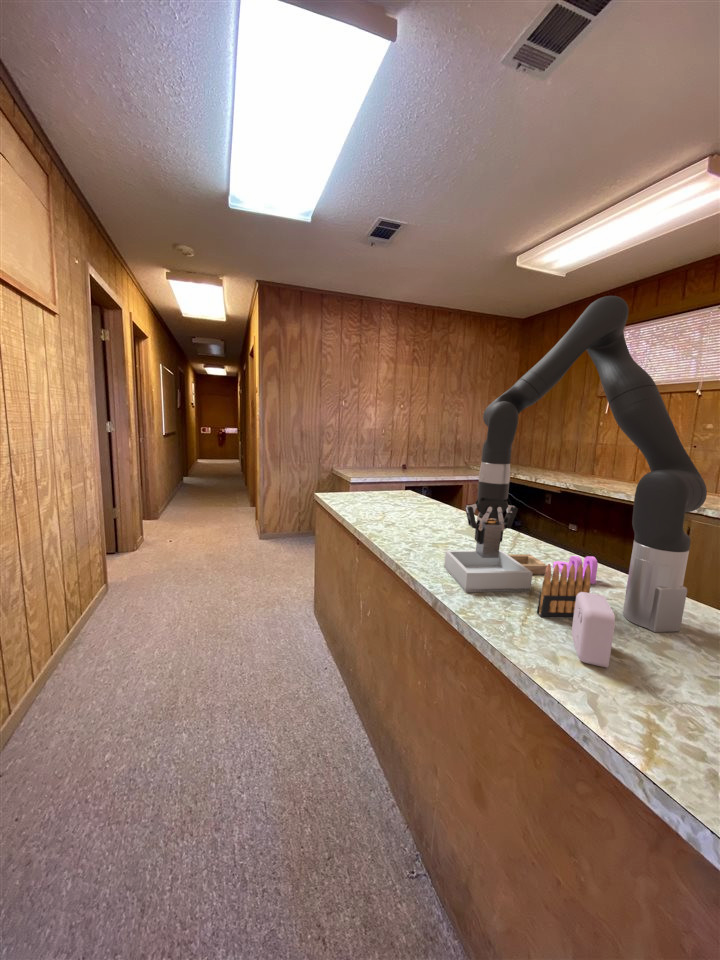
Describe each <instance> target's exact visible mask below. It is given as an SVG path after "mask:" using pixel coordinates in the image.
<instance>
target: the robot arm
mask: <svg viewBox="0 0 720 960" xmlns="http://www.w3.org/2000/svg"><path fill="white" fill-rule="evenodd" d="M628 317H629V305H628V303H627V302H626V301H625V299H624V298H622V297H621V296H616V295H608V296H607V295H606V296H603V297H599V298H597V299H596V300H594V301H593V302H591V303H589V305H588V306H587V307H586V308H585V309H584V311H583V312H582V313H581V314H580V316H579V317H578V318H577V319H576V321H575V322H574V323H573V324H572V326H571V327H570V328H569V329H568V331H566V333H564V335H563V336H562V337H560V339H559V340H558V342H556V344H555V345H554V346H553V347H552V348H551V349H550V350H549V351H547V353H546V354H545V355H544V356H543V357H542V358H541V359H540V360H539V361H537V363H536V364H535V365H533V367H531V368H530V369H529V370H528V371H526V372H525V374H523V375H521V377H520V378H519V379H518V380H517V381H516V382H515V383H514V384H513V385H512V386H511V387H510V388H509V389H508V390H506V391H504V393H502V394H501V395H500V396H498V397H497V398H496V399H494V400H493V401H492V402H491V403H490V404H489V405H488V406H487V407H486V408H485V409H484V411H483V416H482V418H483V424H485V426H486V427H487V433H486V439H485V440H484V441H483V446H482V453H481V463H480V468H479V474H478V485H477V499H476V501H475V503H474V504H466V505H465V506H464V509H465V514H466V519H467V524H468V526H469V527H471V528H472V529H475V532H474V540H475V542H476V543H478V544H482V538H483V531H482V530H483V527H484V524H485V523H486V522H487V520H488V519H490V518H493V519H496V520H497V522H498V524H501V525H502V528H501V538H500V543H502V542H503V537H504V536H503V535H504V530H507V529H509V530H510V529H511V528H512V526H513V523H514V521H515V518H516V515H517V513H518V511H519V508H518V507H516V506H515V505H510V504H509V503H508V498H509V489H510V481H511V460H512V446H513V442H514V440H515V436H516V432H517V429H518V423H519V414H520V413H522V412H523V410H525V409H526V408H528V407H529V408H530V407H531V406H533V405H535V404H536V403H537V402H538V401H539V400H541V399H542V398H543V397H544V396H545V395H547V394H548V392H550V390H552V389H553V388H554V387H555V386H556V385H557V384H558V383H559V382H560V381H561V379H562V378H563V377H564V376H565V374H567V372H568V371H569V369H570V368H571V367H572V366H573V365H574V363H575V362H576V361H577V360H578V358H580V356H581V355H582V354H583V353H584V352H585V351H586V352H587V354H588V355H589V358H590V359H591V361H592V362H593V364H594V366H595V368H596V371H597V373H598V375H599V380H600V382H601V386H602V388H603V389H602V390H603V391H604V394H605V397H606V400H607V403H608V405H609V407H610V411H611V412H612V416H613V418H614V419H615V423H616V424H617V426H618V427H619V428H620V429H621V431H622V432H623V433H624V434H625V435H626V437H627V438H628V439H629V441H631V442H632V443H633V444H634V445H635V446H636V447H637V449H639V451H640V452H641V454H642V455H643V457H644V458H645V460H646V463H647V464H648V466H649V470H650V471H649V472H646V474H644V475H643V476H642V477H641V478H640V479H639V481H638V483H637V484H636V485H637V486H636V488H635V493H634V499H633V508H632V510H633V511H632V517H631V518H632V519H631V520H632V521H631V522H632V523H631V524H632V529H633V533H634V536H633V537H634V539H633V544H632V552H631V557H630V562H629V569H628V577H627V583H626V590H625V595H624V603H623V609H622V615H623V617H624V618H626V620H628V621H629V622H631V623H633V624H635V625H637V626H640V627H642V628H645V629H648V630H650V631H651V632H654V633H663V632H664V633H665V632H680V631H681V626H682V622H683V615H684V610H685V605H686V599H687V594H688V588H687V587H686V586H684V581H685V577H686V576H685V575H686V572H687V571H686V569H687V564H688V559H689V553H690V548H691V543H692V542H691V540H692V539H691V537H690V536H689V534H687V533H686V532H685V531H684V530H685V529H684V523H685V513H691V512H693V511H696V510H698V509H700V508H701V507H702V506H703V505H704V503H705V502H706V499H707V493H708V491H707V490H708V489H707V485H706V482H705V480H704V478H703V476H702V475H701V474H700V472H699V470H698V469H697V467H696V466H695V464H694V462H693V461H692V459H691V457H690V455H689V453H687V451H686V448H685V447H684V445H683V443H682V442H681V439H680V438H679V435H678V432H677V430H676V427H675V426H674V422H673V421H672V418H671V416H670V414H669V412H668V410H667V407H666V405H665V402H664V400H663V397H662V395H661V393H660V391H659V388H658V387H657V384H656V382H655V380H654V378H652V376H651V375H650V374H649V373H648V372H647V371H646V370H645V369H643V367H641V366H640V365H639V364H638V363H637V362H636V361H635V360H634V359H633V357H632V355H631V353H630V351H629V348H628V345H627V343H626V339H625V332H624V330H625V327H626V325H627V321H628V319H629V318H628ZM476 509H477V511H478V514H477V516H476V517H475V513H476ZM505 512H506V514H505V516H504V515H503V514H504V513H505Z"/></svg>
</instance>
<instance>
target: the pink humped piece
mask: <svg viewBox="0 0 720 960" xmlns="http://www.w3.org/2000/svg"><path fill="white" fill-rule="evenodd" d="M598 563H599V562H598V560H597V558H596V557H595V556H589V555H587V556H585V557H584V560H583V561H582V557H580V556H578V555H571V556H570V557H569V559H568V562H567V561H561V560H560V561H559V560H556V561H553V563H552V568H553V569H554V568H555V566H556V564H558V566H559V574H561V571H562V568H563V566H564V564H566V566H567V579H568V576H569V571H570V568H571V566H572V564H574V567H575V579H576V575H577V570H578V568H579V566H580V564H581V565H582V567H583V578H584V573H585V570H586V567H587V566H588V565H590V569H591V577H590V584H592V585H593V584H596V582H597V581H596V580H597V574H598V573H597V572H598V567H599V566H598ZM582 581H583V580H582Z"/></svg>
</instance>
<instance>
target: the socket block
mask: <svg viewBox="0 0 720 960" xmlns="http://www.w3.org/2000/svg"><path fill="white" fill-rule="evenodd" d="M506 554H507V553H506ZM507 555H509V556H510V557H512V558H513V559H514V560H516V561H517V562H519V563H520V564H521V565H523V566H524V567H526V568H527V569H528V570H530V571H531V572H533V573H532V575H545V571H546V567H547V565H548V564H546V563H544V562H543V561H541V560H540V559H538V558H536V557H535V556H534V555H532V554H528V553H526V554H522V553H521V554H519V553H517V554H516V553H515V554H509V553H508V554H507Z"/></svg>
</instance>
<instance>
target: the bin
mask: <svg viewBox="0 0 720 960" xmlns="http://www.w3.org/2000/svg"><path fill="white" fill-rule="evenodd" d="M443 568H445V569H444V570H446V571H447V572H448V573H449V575H450V577H452V579H454V581H455V582H456V583H457V584H458V586H459V587H460V588H461V589H462V590H463V591H464V593H503V592H505V593H506V592H507V593H508V592H512V593H513V592H517V593H518V592H531V589H532V579H533V574H532V573H533V572H531V571H530V570H528V569H527V568H526V567H524V566H523V565H521V564H520V563H519V562H517V561H516V560H514V559H513V558H512V557H510V556H509V555H507V553H506V552H504V551H503V550H499V557H498V558H482V557H481V556H480V555H479V554H477V553H476V550H445V552H444V567H443Z"/></svg>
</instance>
